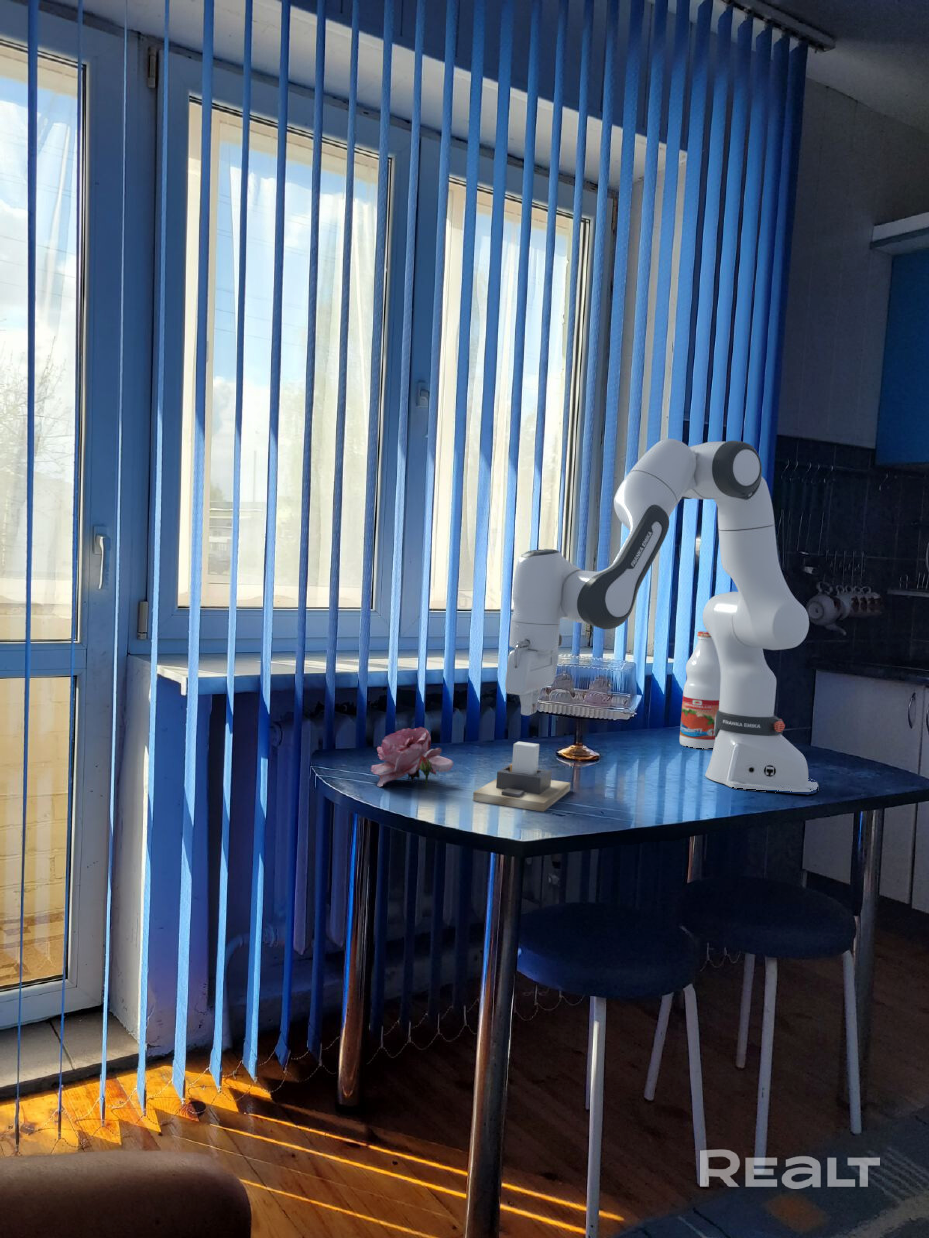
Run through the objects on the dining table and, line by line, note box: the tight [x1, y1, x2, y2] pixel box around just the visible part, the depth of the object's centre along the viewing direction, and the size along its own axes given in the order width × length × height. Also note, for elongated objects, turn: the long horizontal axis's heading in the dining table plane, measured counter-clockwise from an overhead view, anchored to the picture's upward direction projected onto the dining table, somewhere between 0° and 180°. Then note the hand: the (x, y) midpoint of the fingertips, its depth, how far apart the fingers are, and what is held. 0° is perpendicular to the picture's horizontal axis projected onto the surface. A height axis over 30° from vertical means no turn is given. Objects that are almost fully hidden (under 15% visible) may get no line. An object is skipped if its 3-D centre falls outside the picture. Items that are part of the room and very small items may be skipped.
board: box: [472, 778, 571, 812], centre depth 184 cm, size 13×18×2 cm
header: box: [496, 764, 552, 795], centre depth 184 cm, size 8×7×3 cm
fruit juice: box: [679, 630, 721, 750], centre depth 245 cm, size 9×9×28 cm
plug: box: [509, 741, 540, 775], centre depth 184 cm, size 5×3×8 cm, turn 69°
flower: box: [370, 726, 454, 788], centre depth 187 cm, size 15×15×10 cm
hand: (528, 713), depth 183 cm, fingers closed
